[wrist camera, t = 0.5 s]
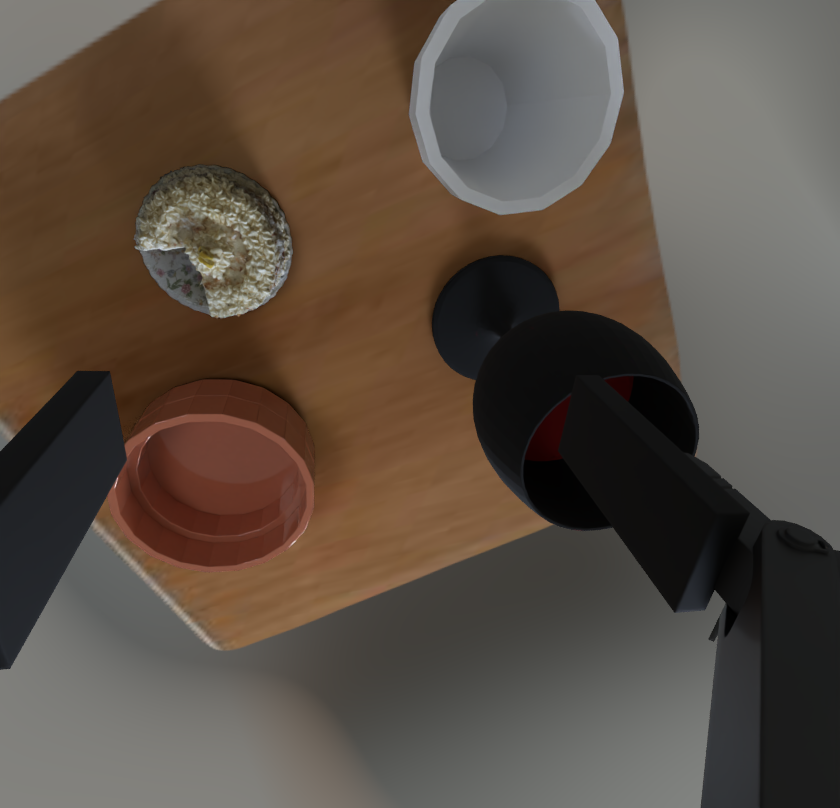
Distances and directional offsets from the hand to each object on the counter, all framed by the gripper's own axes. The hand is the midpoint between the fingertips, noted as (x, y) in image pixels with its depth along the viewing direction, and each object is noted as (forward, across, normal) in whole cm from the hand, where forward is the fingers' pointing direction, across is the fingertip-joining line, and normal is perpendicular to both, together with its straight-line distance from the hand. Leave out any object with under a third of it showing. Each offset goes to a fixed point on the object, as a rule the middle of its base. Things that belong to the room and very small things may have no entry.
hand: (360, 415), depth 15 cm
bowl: (+25, -9, -18) cm, 32 cm away
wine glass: (+25, +13, -6) cm, 29 cm away
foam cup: (+26, +8, +9) cm, 28 cm away
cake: (+26, -8, -1) cm, 27 cm away
